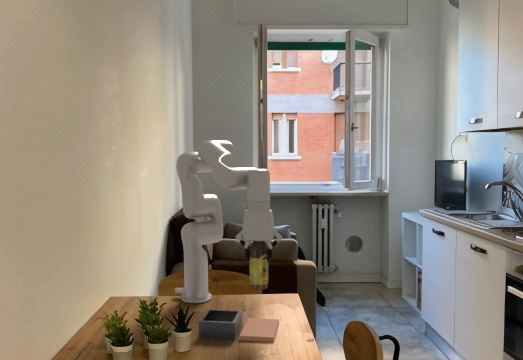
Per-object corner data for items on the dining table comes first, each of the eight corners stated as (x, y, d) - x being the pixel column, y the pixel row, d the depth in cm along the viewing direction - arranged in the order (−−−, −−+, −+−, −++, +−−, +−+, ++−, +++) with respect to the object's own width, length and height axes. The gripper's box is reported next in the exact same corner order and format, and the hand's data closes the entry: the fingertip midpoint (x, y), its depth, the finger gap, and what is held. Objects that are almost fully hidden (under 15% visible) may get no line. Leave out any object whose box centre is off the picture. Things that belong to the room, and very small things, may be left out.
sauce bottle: (266, 291, 156) (266, 230, 154) (247, 290, 157) (247, 230, 155) (270, 285, 162) (269, 227, 161) (252, 284, 163) (251, 227, 162)
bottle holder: (198, 337, 155) (198, 321, 155) (208, 324, 167) (208, 309, 167) (235, 339, 154) (234, 323, 153) (241, 326, 165) (241, 310, 165)
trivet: (239, 340, 153) (239, 335, 153) (248, 322, 169) (248, 318, 169) (273, 342, 152) (273, 337, 152) (279, 323, 168) (279, 319, 167)
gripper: (230, 207, 155) (231, 261, 156) (283, 208, 153) (283, 263, 154) (235, 204, 163) (235, 256, 164) (285, 205, 160) (285, 258, 161)
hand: (258, 259), depth 159 cm, fingers closed on sauce bottle, 6 cm apart
